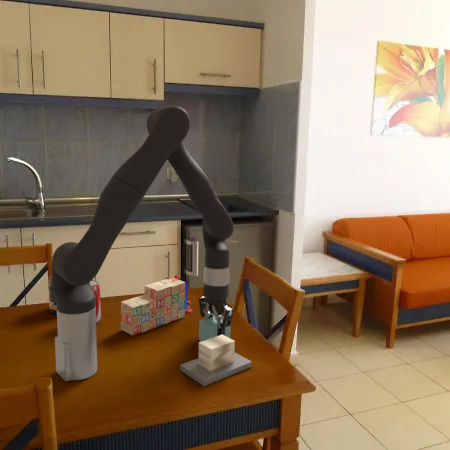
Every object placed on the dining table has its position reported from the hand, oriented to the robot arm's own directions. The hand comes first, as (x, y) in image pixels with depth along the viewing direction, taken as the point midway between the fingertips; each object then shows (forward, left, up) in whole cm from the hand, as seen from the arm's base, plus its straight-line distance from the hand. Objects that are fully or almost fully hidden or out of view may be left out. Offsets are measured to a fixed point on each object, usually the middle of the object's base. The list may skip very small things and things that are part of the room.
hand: (214, 335), depth 142 cm
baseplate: (-11, -14, -1) cm, 18 cm away
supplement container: (-26, +48, -1) cm, 55 cm away
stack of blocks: (-8, +20, -1) cm, 22 cm away
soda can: (-24, +34, -1) cm, 42 cm away
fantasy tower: (+5, +27, -2) cm, 28 cm away
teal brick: (0, 0, -1) cm, 1 cm away
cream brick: (-11, -14, 0) cm, 18 cm away
